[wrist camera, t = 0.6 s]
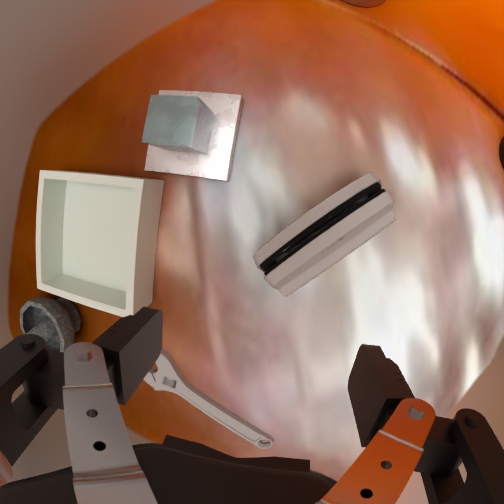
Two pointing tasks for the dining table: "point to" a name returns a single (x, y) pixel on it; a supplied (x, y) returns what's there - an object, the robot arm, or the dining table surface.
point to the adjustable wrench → (201, 400)
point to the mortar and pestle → (51, 321)
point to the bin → (98, 238)
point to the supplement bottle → (502, 152)
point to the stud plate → (220, 143)
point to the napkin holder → (326, 234)
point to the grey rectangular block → (178, 124)
